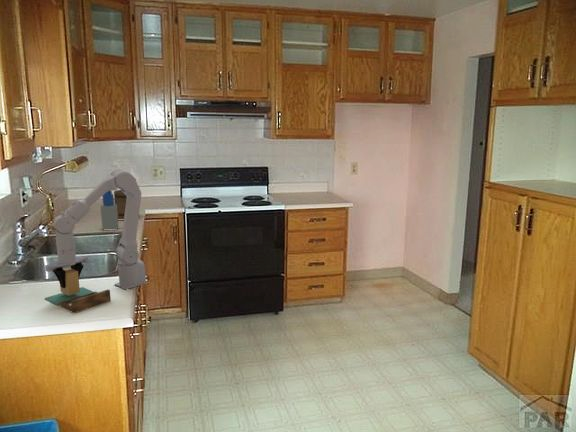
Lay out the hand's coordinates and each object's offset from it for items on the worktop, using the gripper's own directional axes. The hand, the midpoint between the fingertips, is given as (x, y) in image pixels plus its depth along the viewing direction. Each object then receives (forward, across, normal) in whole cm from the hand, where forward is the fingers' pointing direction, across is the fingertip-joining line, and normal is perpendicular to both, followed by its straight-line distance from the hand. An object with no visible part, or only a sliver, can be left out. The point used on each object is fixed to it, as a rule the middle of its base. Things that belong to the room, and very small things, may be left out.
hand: (69, 285), depth 162 cm
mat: (+4, 0, 0) cm, 4 cm away
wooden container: (+4, +91, +106) cm, 140 cm away
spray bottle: (+4, +67, +86) cm, 109 cm away
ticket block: (+2, 0, 0) cm, 2 cm away
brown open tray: (+4, 0, -10) cm, 11 cm away
